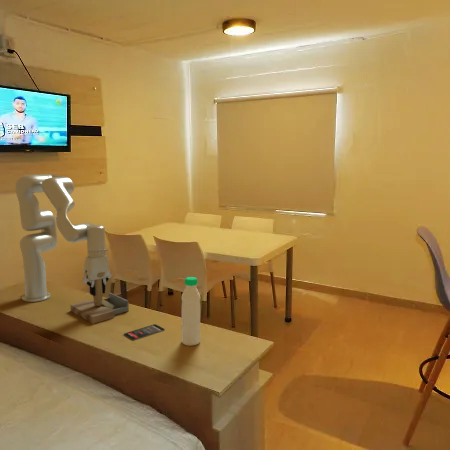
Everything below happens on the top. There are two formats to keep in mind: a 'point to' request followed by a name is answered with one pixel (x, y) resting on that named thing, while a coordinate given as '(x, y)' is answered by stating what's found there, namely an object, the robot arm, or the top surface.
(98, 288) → the handle
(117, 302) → the box
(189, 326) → the water bottle
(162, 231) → the top surface
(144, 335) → the smartphone
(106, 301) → the tile
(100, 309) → the board
